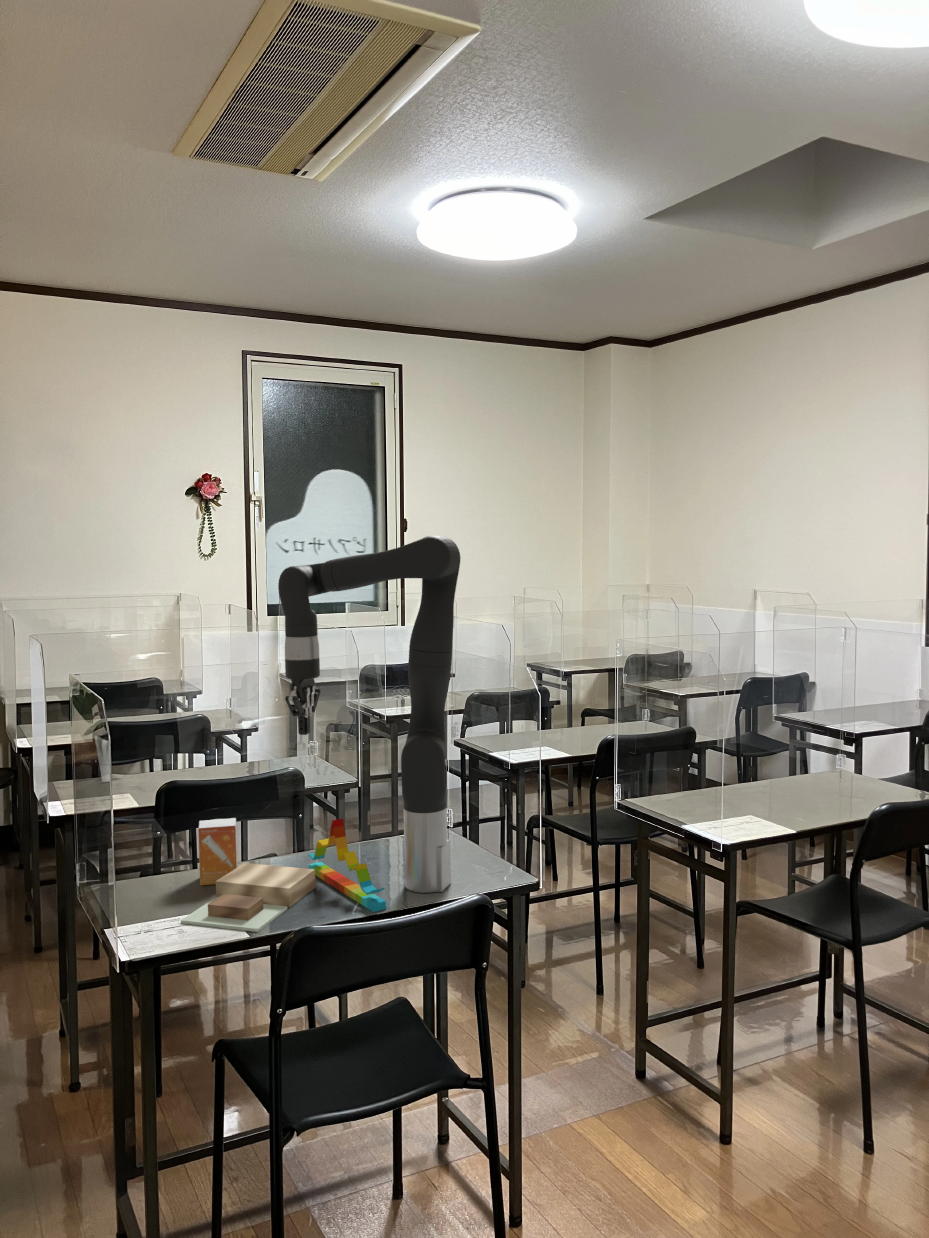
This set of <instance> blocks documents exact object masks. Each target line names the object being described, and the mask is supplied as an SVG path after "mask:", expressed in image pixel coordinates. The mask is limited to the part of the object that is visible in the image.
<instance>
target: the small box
mask: <svg viewBox="0 0 929 1238" xmlns="http://www.w3.org/2000/svg"><path fill="white" fill-rule="evenodd" d="M237 844H238V843H237V818H236V817H231V818H214V819H209V820H208V819H207V820H206V819H205V820H199V821H198V859H199V861H198V864H199V885H200V886H209V885H216V881H217V880H218V879H220V878H222V877H223V876H225V875H226V874H228V873H230V872H231V871H233V870H234V869H236V868H238V852H237V851H238V850H237V849H238V847H237V846H238V845H237Z"/></svg>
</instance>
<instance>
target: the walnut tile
mask: <svg viewBox="0 0 929 1238" xmlns="http://www.w3.org/2000/svg"><path fill="white" fill-rule="evenodd" d="M214 899H215V900H214V901H212V902H211V903H209V904H208V916H211V917H220V918H230V919H239V920H248V921H249V920H250V919H251V918H253V917H254V916H255V915H257V914H258V913H259V912H261V911H262V910H263V898H259V897H249V896H239V895H229V894H223V895H221V896H220V897H218V898H217V899H216V898H214Z"/></svg>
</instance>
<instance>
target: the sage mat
mask: <svg viewBox="0 0 929 1238" xmlns="http://www.w3.org/2000/svg"><path fill="white" fill-rule="evenodd" d="M215 899H216V898H212V899H211V900H210V901H208V902H206V903H204V904H203V905H202V906H201V907H198V909H195V910H194V911H193V912H192V913H190V914H188V915H187V916H185V917H183V918H182V919H181V920H180V923H181V924H186V925H194V926H200V927H202V926H203V927H211V928H219V929H220V928H221V929H229V930H236V931H237V930H238V931H246V932H253V933H258V932H260V931H261V930H263V929H264V928H265V927H266V926H268V925H269V924H270V923H271V922H273V921H274V920H275V919H277V918H278V917H279V916H281V915H282V914H283V913H285V912H286V911H287V910H288V907H287V906H278V905H268V904H263V910H262V911H261V912H259V913H258V914H257V915H255V916H254V917H253V918H251V919H250V920H249V921H248V920H239V919H230V918H220V917H211V916H208V904H209V903H211V902H212V901H214V900H215Z"/></svg>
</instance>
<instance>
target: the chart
mask: <svg viewBox="0 0 929 1238" xmlns="http://www.w3.org/2000/svg"><path fill="white" fill-rule="evenodd" d="M344 821H345V820H344V818H338V819H333V820H332V821H331V824H330V825H331V826H330V831H329V837H328V838H324V839H319V840H317V842H316V848H315V852H311V853H308V857H309V858H311V859H312V860H313V861H316V860H321V859H325V855H326V852H327V848H328V847H329V846H334V845H335V847H336V854H337V862H338V863H339V862H342V861H345V863H346V865H347V867H348V871H349V872H352V871H355V873H356V876H357V880H358V883H359V884H358V883H357V882H355V881H353V880H351V879H350V878H349V877H346V876H345V875H344V874H341V873H340V872H338V871H336V870H335V869H333V868H331V867H330V866H328V865H327V864H326V863H324V862H322V861H318V862H312V863H309V864H308V869H315V877H317V878H319V879H320V880H322V881H324V882H325V883H327V884H328V885H330V886H332V887H333V888H335V889H336V890H337V891H339V892H341V893H342V894H344V895H346V896H347V897H349V898H350V899H352V900H354V901H355V902H357V903H359V904H360V905H361V906H363V907H364V908H366V909H367V910H369V911H371V912H372V913H375V912H379V911H383V910H386V909H387V900H385V899H384V898H381V897H379V896H378V895H377V893H380V892H382V891H384V890H385V888H384V887H381V888H376V887H375V886H374V885H373V882H372V879H371V875H370V873H369V869H368V865H367V862H366V863H362V864H361V863H360V861H359V859H358V856H357V854H356V851H355V850H352V851H349V847H348V840H347V835H346V827H345V822H344Z"/></svg>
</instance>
